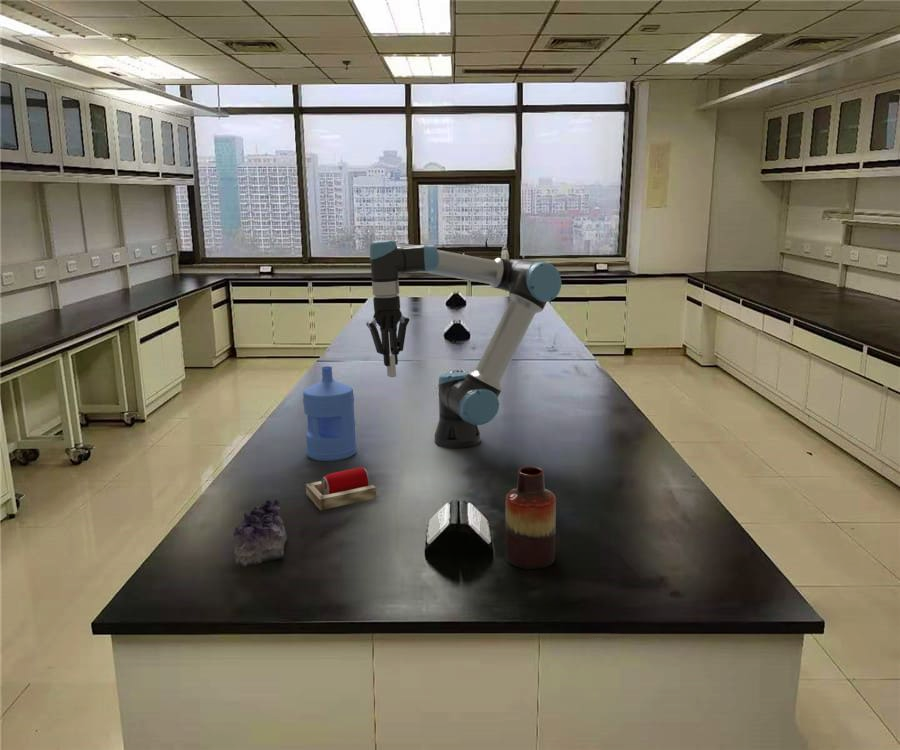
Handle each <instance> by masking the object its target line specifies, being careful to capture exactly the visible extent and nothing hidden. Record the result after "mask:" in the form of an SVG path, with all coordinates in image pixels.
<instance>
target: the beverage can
mask: <svg viewBox="0 0 900 750" xmlns="http://www.w3.org/2000/svg"><path fill="white" fill-rule="evenodd" d="M320 481H321V485H322V490H323V493H324V495H328V494H333V493H337V492H342V491H347V490H352V489H356V488H361V487H366V486H370V476H369V472H368V470H367V469H366V468H364V466H360V467H355V468H351V469H346V470H341V471H337V472H331V473H328V474H326V475H324V476H323V477H322V478H321V480H320Z"/></svg>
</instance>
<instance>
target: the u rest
mask: <svg viewBox="0 0 900 750" xmlns="http://www.w3.org/2000/svg"><path fill="white" fill-rule="evenodd" d="M305 490H306V491H305V494H306V496H308V498H309V499H310V501H312V502H313V503H314V505H315V506H316V507H317V508H318V509H319V510H320V511H323V510H324V511H325V510H328V509H333V508H337V507H340V506H346V505H350V504H355V503H360V502H365V501H368V500H373V499H376V498H377V487H376V486H375V485H374V484H371V485H370V484H369V486H366V487H361V488H356V489H352V490H347V491H342V492H337V493H333V494H328V495H324V493H323V490H322V485H321V480H319V481H314V482H310V483H305Z"/></svg>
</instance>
